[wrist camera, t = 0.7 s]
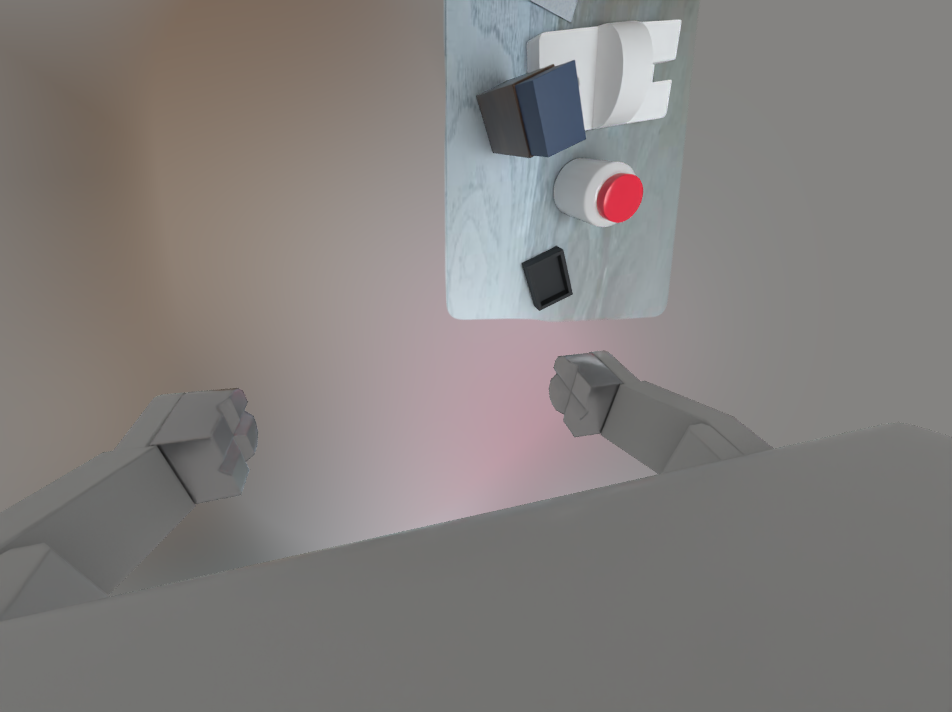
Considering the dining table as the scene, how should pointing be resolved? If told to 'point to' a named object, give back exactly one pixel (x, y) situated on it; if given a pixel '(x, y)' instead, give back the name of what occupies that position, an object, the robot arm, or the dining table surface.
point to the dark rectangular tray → (547, 278)
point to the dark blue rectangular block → (552, 110)
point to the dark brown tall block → (506, 117)
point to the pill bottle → (598, 191)
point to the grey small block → (559, 7)
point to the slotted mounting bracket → (613, 67)
